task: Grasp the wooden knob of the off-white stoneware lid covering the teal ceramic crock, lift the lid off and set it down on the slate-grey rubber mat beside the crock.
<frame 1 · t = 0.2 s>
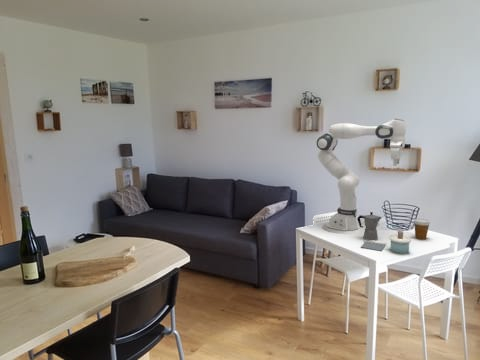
hand: (396, 165, 234), 48 cm above the table, fingers open, 8 cm apart
mat: (373, 246, 220), on the table
disposable coffee cup: (420, 238, 233), on the table
lid: (400, 239, 210), point 7 cm above the table, touching crock
coffeepot: (368, 238, 235), on the table
crock: (399, 250, 212), on the table
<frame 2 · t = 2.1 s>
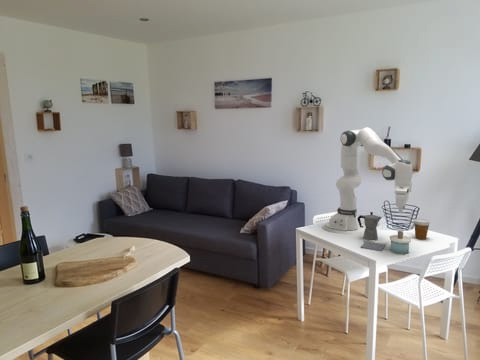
hand: (401, 211, 208), 24 cm above the table, fingers open, 8 cm apart
nothing on the table moved.
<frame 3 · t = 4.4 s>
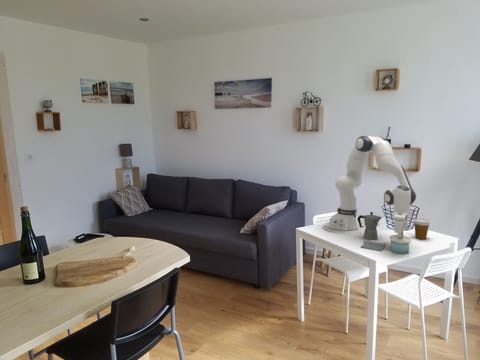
hand: (400, 236, 210), 9 cm above the table, fingers closed on lid, 3 cm apart
lid: (400, 239, 210), point 7 cm above the table, touching crock, gripper
everything else where it was.
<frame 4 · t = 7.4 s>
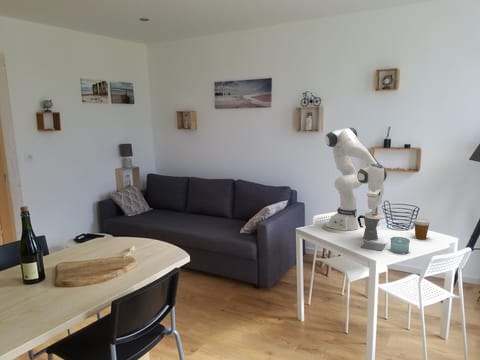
hand: (374, 213, 216), 21 cm above the table, fingers closed on lid, 3 cm apart
lid: (374, 216, 216), point 19 cm above the table, touching gripper
everything else where it was.
when the fingers open (4 cm above the table, at t = 10.6 s): lid drops 1 cm, resting on mat.
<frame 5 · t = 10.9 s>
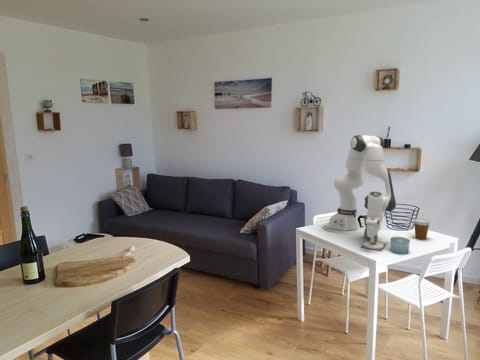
hand: (373, 240, 219), 4 cm above the table, fingers open, 6 cm apart
lid: (373, 245, 220), point 1 cm above the table, touching mat
everything else where it was.
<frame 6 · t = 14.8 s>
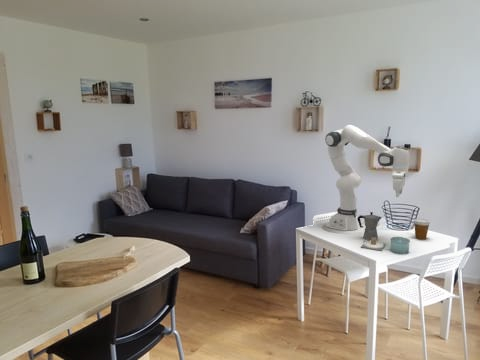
hand: (398, 195, 219), 31 cm above the table, fingers open, 8 cm apart
nothing on the table moved.
at the end: lid inside the target area on the mat (0.1 cm from its centre), point 0.6 cm above the mat's base; lid touching mat; lid tilted 0° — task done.
